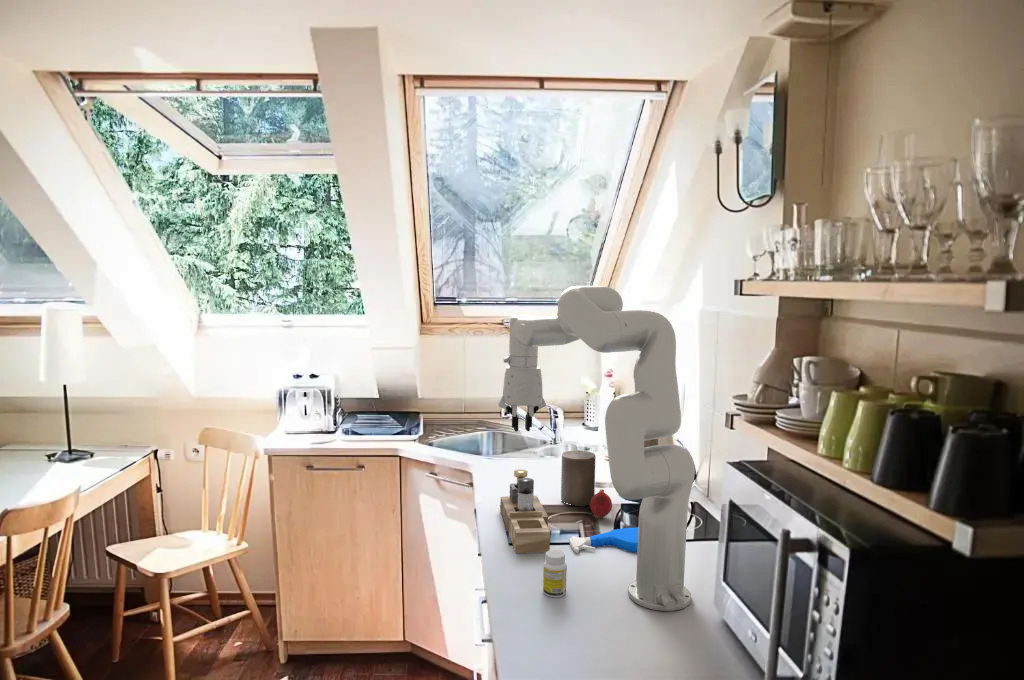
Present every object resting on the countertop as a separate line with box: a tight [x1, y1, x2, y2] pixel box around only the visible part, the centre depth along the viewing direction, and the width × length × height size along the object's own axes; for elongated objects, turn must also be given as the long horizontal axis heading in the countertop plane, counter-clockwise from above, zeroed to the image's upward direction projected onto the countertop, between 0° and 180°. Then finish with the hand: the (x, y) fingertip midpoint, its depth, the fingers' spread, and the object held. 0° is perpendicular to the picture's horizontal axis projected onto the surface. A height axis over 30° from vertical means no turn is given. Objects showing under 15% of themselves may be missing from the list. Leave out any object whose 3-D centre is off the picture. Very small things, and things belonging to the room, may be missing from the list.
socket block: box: [499, 482, 549, 534], centre depth 181 cm, size 16×10×8 cm, turn 8°
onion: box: [589, 488, 613, 519], centre depth 184 cm, size 6×6×8 cm
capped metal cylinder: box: [518, 477, 535, 511], centre depth 178 cm, size 4×4×12 cm
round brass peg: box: [513, 469, 528, 487], centre depth 186 cm, size 4×4×4 cm
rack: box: [508, 511, 551, 554], centre depth 167 cm, size 11×8×6 cm
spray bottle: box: [569, 526, 638, 554], centre depth 167 cm, size 3×11×24 cm
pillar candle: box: [560, 449, 596, 507], centre depth 197 cm, size 10×10×15 cm
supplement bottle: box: [542, 549, 568, 599], centre depth 142 cm, size 5×5×8 cm
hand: (521, 429), depth 184 cm, fingers open, 2 cm apart
